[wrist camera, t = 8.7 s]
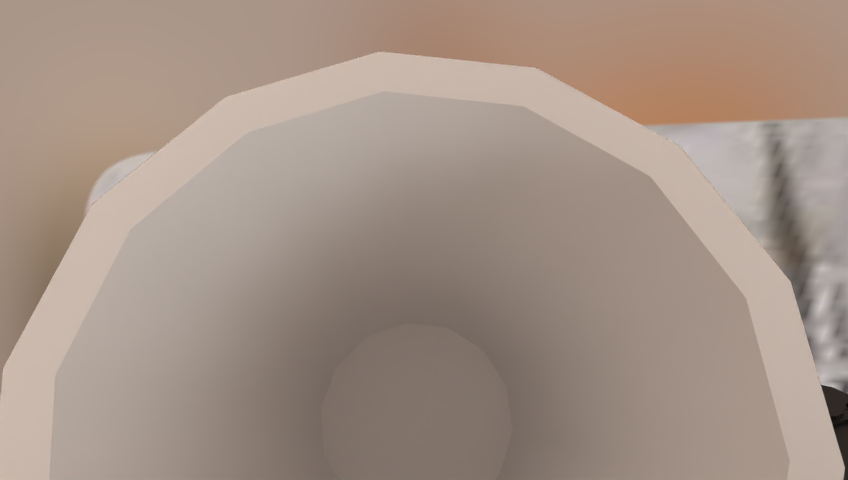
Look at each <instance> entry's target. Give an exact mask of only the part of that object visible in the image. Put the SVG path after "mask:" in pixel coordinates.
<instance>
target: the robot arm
mask: <svg viewBox="0 0 848 480" xmlns="http://www.w3.org/2000/svg"><path fill="white" fill-rule="evenodd" d="M821 387H822V391H823V394H824V398H825V401H826V404H827V408H828V411H829V415H830V418H831V422H832V425H833V428H834V432H835V435H836V439H837V442H838V445H839V449H840V452H841V456H842V459H843V463H844V466H845V471H844V479H843V480H848V394H846V393H844V392H841V391H839V390H837V389H835V388H832V387H828V386H824V385H821Z"/></svg>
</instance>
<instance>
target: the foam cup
mask: <svg viewBox="0 0 848 480" xmlns="http://www.w3.org/2000/svg"><path fill="white" fill-rule="evenodd" d="M0 400H1V401H0V480H843V479H844V471H845V466H844V463H843V459H842V456H841V452H840V449H839V445H838V442H837V439H836V435H835V432H834V428H833V425H832V422H831V418H830V415H829V411H828V408H827V404H826V401H825V398H824V394H823V391H822V387H821V384H820V381H819V377H818V374H817V370H816V367H815V363H814V360H813V357H812V353H811V350H810V346H809V343H808V340H807V336H806V333H805V329H804V326H803V322H802V319H801V316H800V312H799V309H798V305H797V302H796V298H795V295H794V292H793V288H792V285H791V282H790V280H789V279H788V278H787V277H786V276H785V274H784V273H783V272H782V271H781V269H780V268H779V267H778V266H777V264H776V263H775V262H774V261H773V260H772V258H771V257H770V256H769V255H768V253H767V252H766V251H765V250H764V248H763V247H762V246H761V245H760V244H759V242H758V241H757V240H756V239H755V237H754V236H753V235H752V234H751V233H750V231H749V230H748V229H747V228H746V226H745V225H744V224H743V223H742V221H741V220H740V219H739V218H738V217H737V215H736V214H735V213H734V212H733V210H732V209H731V208H730V207H729V206H728V204H727V203H726V202H725V201H724V199H723V198H722V197H721V196H720V194H719V193H718V192H717V191H716V190H715V188H714V187H713V186H712V185H711V183H710V182H709V181H708V180H707V178H706V177H705V176H704V175H703V174H702V172H701V171H700V170H699V169H698V167H697V166H696V165H695V164H694V163H693V161H692V160H691V159H690V158H689V156H688V155H687V154H686V153H685V151H684V150H683V149H682V148H681V147H680V146H679V145H678V144H676V143H674V142H672V141H670V140H668V139H667V138H665V137H663V136H661V135H659V134H657V133H655V132H654V131H652V130H650V129H648V128H646V127H644V126H643V125H641V124H639V123H637V122H635V121H633V120H631V119H630V118H628V117H626V116H624V115H622V114H620V113H619V112H617V111H615V110H613V109H611V108H609V107H607V106H606V105H603V104H602V103H600V102H598V101H596V100H595V99H593V98H591V97H589V96H587V95H585V94H583V93H582V92H580V91H578V90H576V89H574V88H572V87H570V86H569V85H567V84H565V83H563V82H561V81H559V80H558V79H556V78H554V77H552V76H550V75H548V74H546V73H545V72H543V71H541V70H539V69H537V68H531V67H522V66H512V65H503V64H493V63H484V62H474V61H465V60H455V59H446V58H436V57H427V56H418V55H407V54H398V53H389V52H376V53H373V54H370V55H366V56H363V57H359V58H356V59H353V60H349V61H346V62H343V63H339V64H335V65H332V66H329V67H325V68H322V69H318V70H315V71H312V72H308V73H305V74H301V75H298V76H295V77H291V78H288V79H284V80H281V81H278V82H274V83H271V84H267V85H264V86H260V87H257V88H254V89H250V90H247V91H244V92H240V93H237V94H233V95H230V96H227V97H225V98H224V99H222V100H221V101H220V102H219V103H217V104H216V105H215V106H214V107H212V108H211V109H210V110H209V111H207V112H206V113H205V114H204V115H202V116H201V117H200V118H199V119H198V120H196V121H195V122H194V123H192V124H191V125H190V126H189V127H187V128H186V129H185V130H184V131H183V132H181V133H180V134H179V135H178V136H177V137H175V138H174V139H173V140H172V141H170V142H169V143H168V144H166V145H165V146H164V147H163V148H161V149H160V150H159V151H158V152H156V153H155V154H154V155H153V156H151V157H150V158H149V159H148V160H146V161H145V162H144V163H143V164H141V165H140V166H139V167H138V168H136V169H135V170H134V171H133V172H131V173H130V174H129V175H128V176H126V177H125V178H124V179H123V180H122V181H120V182H119V183H118V184H117V185H115V186H114V187H113V188H112V189H110V190H109V191H108V192H107V193H105V194H104V195H103V196H102V197H100V198H99V199H98V200H97V201H95V202H94V203H93V204H92V206H91V208H90V210H89V211H88V213H87V215H86V217H85V219H84V221H83V222H82V224H81V226H80V228H79V230H78V232H77V234H76V235H75V237H74V239H73V241H72V243H71V245H70V246H69V248H68V250H67V252H66V254H65V256H64V257H63V259H62V261H61V263H60V265H59V267H58V268H57V271H56V272H55V274H54V276H53V278H52V280H51V281H50V283H49V285H48V287H47V289H46V291H45V292H44V294H43V296H42V298H41V300H40V302H39V303H38V305H37V307H36V309H35V311H34V313H33V314H32V316H31V318H30V320H29V322H28V324H27V325H26V328H25V329H24V331H23V333H22V335H21V337H20V339H19V340H18V342H17V344H16V346H15V348H14V350H13V351H12V353H11V355H10V357H9V359H8V360H7V362H6V364H5V366H4V368H3V376H2V388H1V399H0Z"/></svg>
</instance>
